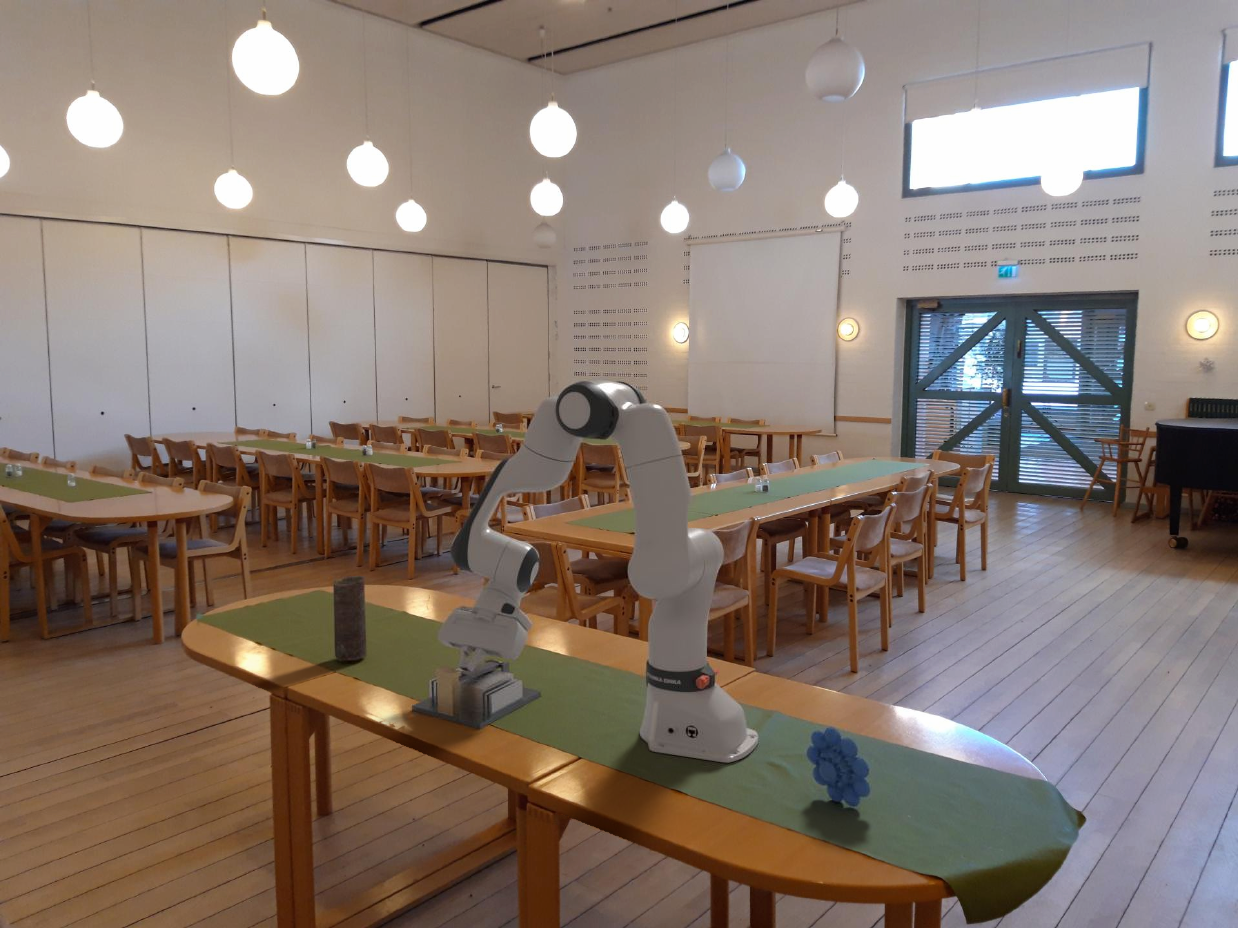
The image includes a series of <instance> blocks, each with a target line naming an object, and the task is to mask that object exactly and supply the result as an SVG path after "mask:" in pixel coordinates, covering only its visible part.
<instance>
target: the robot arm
mask: <svg viewBox="0 0 1238 928" xmlns="http://www.w3.org/2000/svg"><path fill="white" fill-rule="evenodd" d="M609 438H610V439H611V440H614V442H616V444H617V445H618V447H619V448H620V451H621V455H622V459H623V464H624V468H625V472H626V476H627V481H628V486H629V490H630V495H631V499H632V504H633V512H634V541H633V550H632V554H631V557H630V559H629V561H628V564H627V576H628V580H629V582H630V585H631V587H632V588H633V590H634V591H635V592H636V593H637V594H639V595H640V596H641V597H643V598H646V599H648V600H649V599H650V600H656V602H655V603H656V604H655V606H654V609H653V612H652V613H651V614H650V617H649V620H648V627H647V628H648V629H647V630H648V636H647V637H648V647H647V649H648V653H647V654H648V659H647V660H646V663H645V664H646V665H645V683H646V685H645V686H646V688H647V691H646V692H647V693H646V701H645V708H644V714H643V719H642V722H641V725H640V729H639V735H640V737H641V739H642V740H644V741H645V742H646V743H647V745H648V746H647V747H648V749H649V750H650V751H651V752H655V753H660V754H667V755H675V756H680V757H686V758H692V759H693V758H694V759H700V760H706V761H713V762H720V763H732V762H736V761H738V760H741V759H743V758H745V757H746V756H747V755H749V754H751V753H752V752H753V751H754V750H755V748H756V747H757V745H758V743H759V734H758V732H757V731H756V730H754V729H751V728H749V727H747V719H746V715H745V711H744V709H743V707H742V706H741V705H740V704H739V703H738V702H737V701H736V700H735V699H734V698H733V697H732V696H731V695H729V694H728V693H727V692H726V690H724V689H722V687H721V686H719V685H718V684H717V683H716V676H718V675H719V673H720V672H719V670H720V667H716V668H714V669H713V668H712V666H711V665H710V664H709V661H708V659H707V657H708V656H707V651H708V650H707V649H708V648H707V647H708V642H707V641H708V620H709V616H710V614H709V613H710V609H711V605H712V600H713V597H714V596H713V594H714V590H715V584H716V580H717V576H718V573H719V570H720V568H721V566H722V564H723V562H724V557H725V551H724V546H723V543H722V541H721V540H720V538H719V537H718V536H717V535H716V534H715V533H714V532H713V531H712V530H709V529H706V528H699V527H689V523H688V522H689V519H688V518H689V508H690V504H691V501H692V490H691V489H692V488H691V485H690V481H689V477H688V473H687V469H686V465H685V464H686V463H685V460H684V456H683V452H682V449H681V445H680V442H679V438H678V435H677V433H676V429H675V428H674V425H673V422H672V420H671V418H670V416H669V414H668V412H667V410H666V409H665V408H664V407H663V406H661V405H659V404H656V403H653V402H651V403H649V402H646V400H645V397H644V396H643V394H642V392H641V391H640V389H638V388H637V387H635V386H634V385H632V384H630V383H627V382H625V381H620V380H619V381H618V380H617V381H611V380H607V379H606V380H605V379H596V380H588V381H586V380H583V381H577V382H575V383H573V384H570V385H568V386H567V387H565V388H564V389H563V390H562V391H561V392H560V394H559V395H555V396H554V395H553V396H549V397H547V398H545V399H544V400H542V401H541V402H540V404H539V406H538V407H537V409H536V411H535V413H534V415H533V416H532V419H531V420H530V423H529V425H528V428H527V430H526V432H525V435H524V438H523V441H522V443H521V446H520V448H519V449H518V451H516V453H515V454H514V455H513V456H512V457H507V458H506V457H505V458H503V459H502V460H501V461H500V462H499V463H498V464H497V465H496V467H495V468H494V469H493V471H492V473H491V475H489V478H488V480H487V481H486V483H485V485H484V487H483V488H482V490H481V492H480V494H479V496H478V497H477V499H476V501H475V503H474V505H473V507H472V509H471V510H470V512H469V513H468V516H467V518H466V519H465V522H464V523H463V524H462V526H461V527H460V529H459V530H458V531H457V533H456V534H455V536H454V538H453V540H452V542H451V545H450V550H449V553H450V556H451V559H452V561H453V563H454V564H455V566H456V567H457V569H460V570H463V571H467V572H470V573H474V574H477V575H480V576H482V577H484V578H487V579H488V582H487V583H486V584H485V585H484V586H483V587H482V588H481V591H480V593H479V595H478V597H477V599H476V601H475V602H474V605H473V606H466V605H460V606H459V607H457V608H454V609H453V610H452V612H451V613H450V614H449V615H448V617H447V618H446V619H445V620H444V622H443V624H442V625H441V626H440V628H439V630H438V632H437V640H438V641H439V642H440V643H441V644H442V645H443V646H445V647H449V648H453V649H459V650H460V660H459V662H458V664H457V668H460V669H461V670H466V671H470V672H472V671H473V670H474V668H475V666H478V665H479V663H481V662H482V661H483V660H485V658H486V657H487V656H492V657H498V658H501V659H506V660H507V659H508V660H511V661H514V660H516V659H518V658H519V657H520V656H521V654H522V651H523V650H524V647H525V645H526V642H527V639H528V637H529V636H528V631H530V630H531V629H532V627H533V623H532V622H531V620H530V619H529V617H528V616H527V615H526V613H524V612H523V610H521V609H520V606H521V600H522V598H523V597H524V595H525V594H526V593H527V592H528V590H530V589H532V587H533V585H534V582H535V581H536V579H537V578H538V575H539V573H540V570H541V560H540V555H539V551H538V550H537V549H536V548H535V547H534V546H533V545H532V544H530V543H528V542H527V541H523V540H518V539H516V538H512V537H510V536H507V535H506V534H503V533H500V532H498V531H496V530H493V529H492V528H491V527H490V526H489V524H488V523H489V521H490V519H491V517H492V516H493V514H494V513H495V510H496V508H497V507H498V505H499V503H500V501H501V499H502V498H503V496H504V495H506V494H509V493H517V492H518V493H540V492H541V493H543V492H549V491H551V490H555V489H557V488H558V487H560V486H561V485H562V484H564V483H565V481H566V480H567V479H568V476H569V475H570V473H571V471H572V469H573V466H574V463H575V461H576V457H577V455H578V452H579V448H580V447H581V444H582V442H583V440H584V439H585V440H586V439H587V440H589V439H590V440H602V441H604V440H607V439H609ZM473 653H474V655H473V656H472V654H473ZM469 656H472V657H471V658H470V659H469Z"/></svg>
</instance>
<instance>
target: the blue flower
mask: <svg viewBox="0 0 1238 928" xmlns="http://www.w3.org/2000/svg"><path fill="white" fill-rule="evenodd" d="M810 739H811V743H812V745H809V747H807V749H806V756H807V759H808V761H809V762H810V763H811V764H812V765H814V767H813V770H812V776H813V779H814V781H815V782H816V783H817V784H818V785H820V786H822V787H823V786H824V787H825V786H826V794H827V795H828V797H829V798H830V799H831V800H832V801H834V802H836V803H839V802H842V801H843V802H844V803H846V805H848V807H849V806H850V808H851V807H852V808H853V807H859V806H858V805H860V803H861V798H867V797H868V796H870V794H871V786H870V784H869V782H868V781H867V780H866V778H867V777H868V776H869V774H870V767H869V764H868V763H867V761H866V760H865V759H864V758H862V757H860V756H858V752H859V749H858V746H857V744H856V742H855V741H854V739H851V738H849V737H843V738H842V735H841V733H840V731H838V730H837V729H836V727H832V726H831V727H830V726H829V727H827V728H825V730H824V732H823V731H822V730H819V729H818V730H814V731H813V732H812V733H811V735H810Z"/></svg>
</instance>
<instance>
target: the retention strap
mask: <svg viewBox="0 0 1238 928" xmlns="http://www.w3.org/2000/svg"><path fill="white" fill-rule="evenodd" d="M503 663H505V662H504V661H503V662H502V661H499V660H494V659H493V660H490V662H487V663H485V662H484V663H481V664H477V665H476V666H475V668H474V670H473V671H472V672H470V671H466V670H463V671H461V676H459V682H461V681H464V680H467V679H469V678H472V677H475V676H478V675H481V674H484V673H487V672H490V671H492V670H498V669H501V664H503Z"/></svg>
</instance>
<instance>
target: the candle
mask: <svg viewBox="0 0 1238 928" xmlns="http://www.w3.org/2000/svg"><path fill="white" fill-rule="evenodd" d="M332 584H333V585H332V586H333V616H334V618H333V619H334V620H333V623H334V625H333V626H334V629H333V630H334V632H333V633H334V656H335V657H334V658H335V659H336V660H338V661H340V662H350V661H357V660H360V659H363V658H365V657H367V656H368V655H367V654H368V653H367V646H368V645H367V626H366V624H367V623H366V596H365V595H366V593H365V592H366V591H365V587H366V585H365V584H366V582H365V577H364V576H361V575H355V576H347V577H344V578H336V579H334V581H333V583H332Z"/></svg>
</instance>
